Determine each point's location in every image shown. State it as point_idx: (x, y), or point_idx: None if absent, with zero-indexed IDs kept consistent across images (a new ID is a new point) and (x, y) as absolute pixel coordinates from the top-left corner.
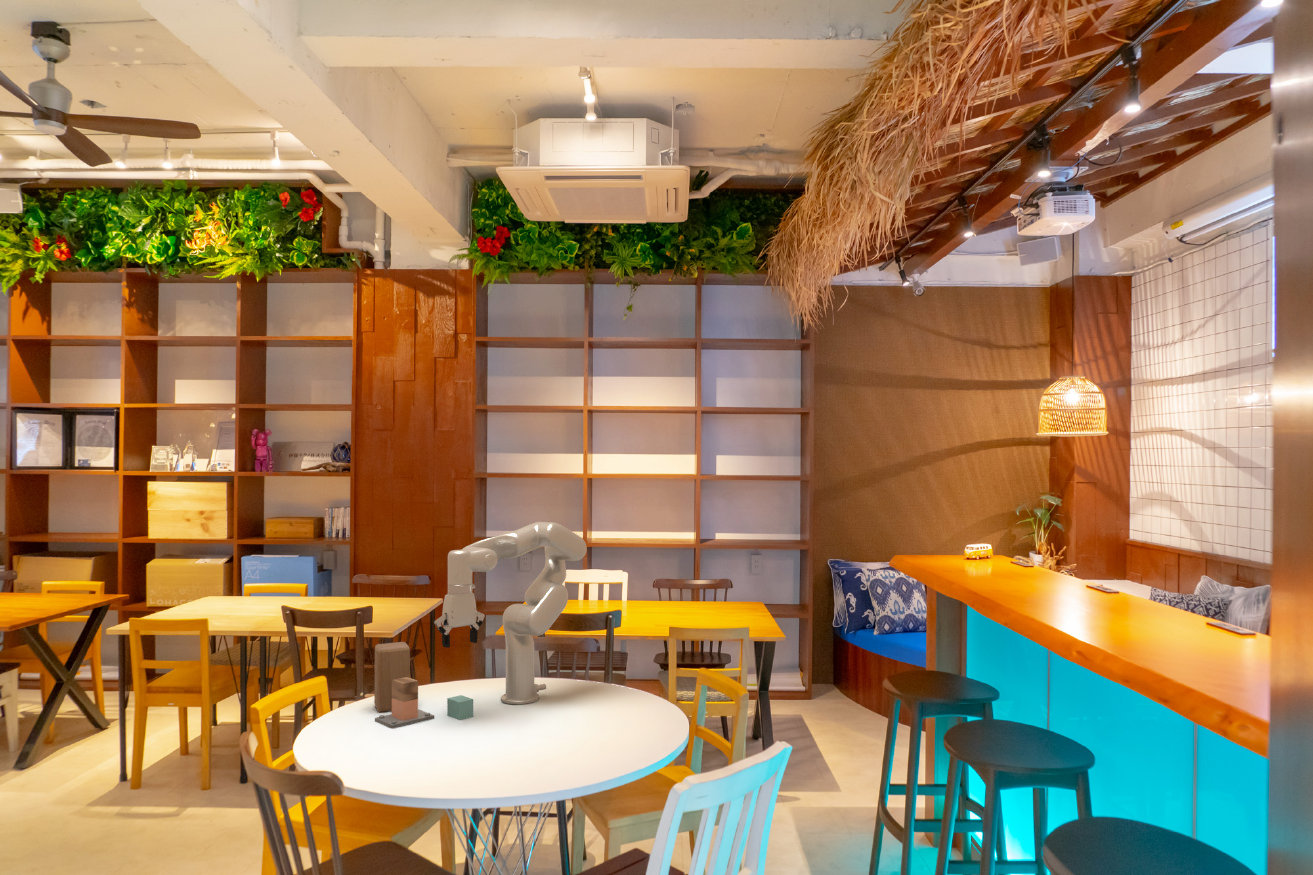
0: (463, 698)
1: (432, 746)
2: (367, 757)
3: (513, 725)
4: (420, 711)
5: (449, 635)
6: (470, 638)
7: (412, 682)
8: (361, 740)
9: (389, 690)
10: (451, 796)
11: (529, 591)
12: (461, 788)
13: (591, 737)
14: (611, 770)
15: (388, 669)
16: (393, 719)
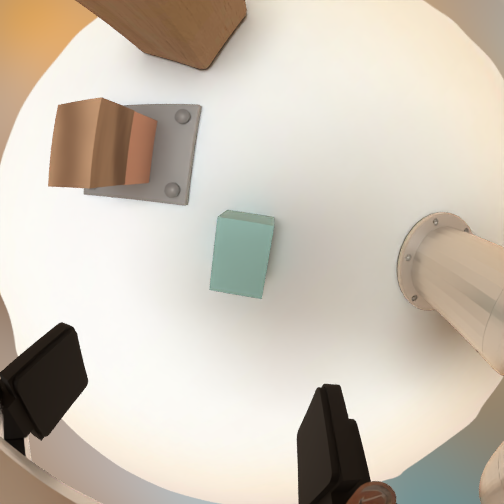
0: (248, 266)
1: (97, 346)
2: (27, 296)
3: (267, 389)
4: (185, 139)
5: (43, 436)
6: (319, 411)
7: (74, 186)
8: (36, 215)
9: (138, 37)
10: (77, 433)
11: None
12: (87, 434)
13: (285, 472)
14: (214, 498)
15: (102, 8)
16: None
